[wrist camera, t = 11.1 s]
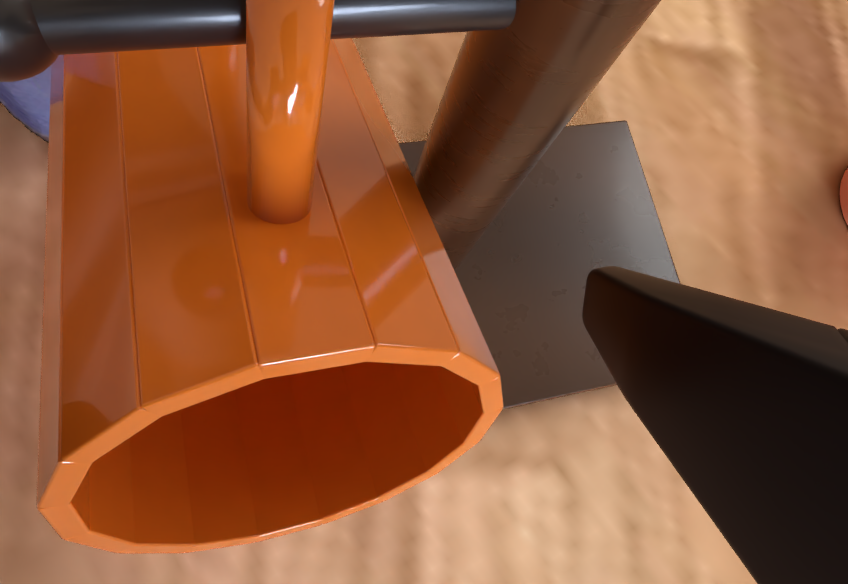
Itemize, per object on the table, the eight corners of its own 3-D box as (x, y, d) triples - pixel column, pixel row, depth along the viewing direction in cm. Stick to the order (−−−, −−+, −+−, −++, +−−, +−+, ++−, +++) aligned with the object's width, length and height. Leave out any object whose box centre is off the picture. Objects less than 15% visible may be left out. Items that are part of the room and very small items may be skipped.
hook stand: (691, 368, 23) (1366, 195, 8) (195, 476, 18) (-200, 510, 4) (614, 132, 25) (1036, -323, 11) (159, 181, 21) (-169, -465, 6)
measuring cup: (321, 133, 21) (444, 492, 14) (88, 138, 18) (97, 584, 11) (370, -297, 12) (742, 74, 6) (-50, -401, 10) (-341, 55, 3)
